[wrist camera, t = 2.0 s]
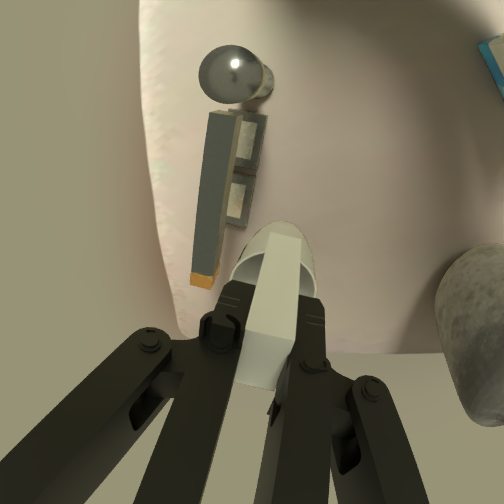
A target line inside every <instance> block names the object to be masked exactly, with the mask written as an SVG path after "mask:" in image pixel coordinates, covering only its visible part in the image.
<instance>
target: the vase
mask: <svg viewBox="0 0 504 504" xmlns="http://www.w3.org/2000/svg"><path fill="white" fill-rule="evenodd" d="M435 320H436V326H437V330H438V334H439V338H440V341H441V345H442V348H443V352H444V355H445V358H446V361H447V364H448V367H449V370H450V373H451V377H452V379H453V382H454V385H455V388H456V391H457V394H458V396H459V399H460V401H461V403H462V406H463V408H464V409H465V412H466V413H467V415H468V416H469V418H470V419H471V420H473V421H474V422H476V423H477V424H479V425H481V426H486V427H495V426H501V425H504V245H501V244H484V245H480V246H477V247H474V248H473V249H471V250H469V251H467V252H465V253H464V254H463V255H462V256H460V257H459V258H458V259H457V260H455V262H454V263H453V264H452V265H451V266H450V267H449V269H448V270H447V271H446V273H445V275H444V276H443V278H442V280H441V282H440V284H439V287H438V290H437V293H436V298H435Z"/></svg>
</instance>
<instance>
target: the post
mask: <svg viewBox="0 0 504 504" xmlns="http://www.w3.org/2000/svg"><path fill="white" fill-rule="evenodd" d="M263 65H264V64H263ZM264 67H265V70H266V81H265V85H264V87H263V89H262V90H261V92H260V93H259V94H258V95H257V96H256V97H254V98H253V99H257V98H262V97H264V96H266V95H267V94H269V93H270V91H271V90H272V88H273V86H274V75H273V73H272V71H271V70H270V69H269V68H268V67H267V66H266V65H264Z"/></svg>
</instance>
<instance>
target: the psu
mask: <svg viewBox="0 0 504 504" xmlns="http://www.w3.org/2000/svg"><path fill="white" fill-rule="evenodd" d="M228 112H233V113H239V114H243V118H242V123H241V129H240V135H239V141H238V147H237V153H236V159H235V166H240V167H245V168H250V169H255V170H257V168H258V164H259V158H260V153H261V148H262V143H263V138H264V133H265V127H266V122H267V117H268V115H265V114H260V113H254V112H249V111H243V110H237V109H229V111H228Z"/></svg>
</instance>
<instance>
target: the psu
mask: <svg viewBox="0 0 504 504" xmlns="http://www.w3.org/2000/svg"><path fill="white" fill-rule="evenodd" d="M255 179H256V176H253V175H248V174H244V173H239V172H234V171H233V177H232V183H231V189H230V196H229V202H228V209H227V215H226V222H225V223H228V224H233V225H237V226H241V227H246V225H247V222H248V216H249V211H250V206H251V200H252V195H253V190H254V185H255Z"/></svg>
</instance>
